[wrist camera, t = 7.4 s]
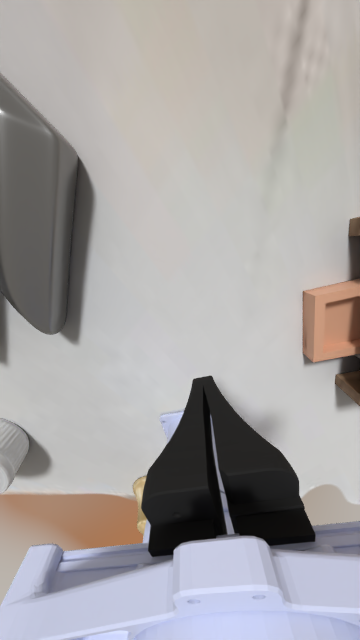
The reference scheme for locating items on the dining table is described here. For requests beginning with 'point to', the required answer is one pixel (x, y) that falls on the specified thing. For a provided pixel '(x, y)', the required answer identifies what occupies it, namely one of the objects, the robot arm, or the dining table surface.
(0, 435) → the ramekin
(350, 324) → the shallow pink tray
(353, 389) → the wooden block
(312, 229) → the dining table surface
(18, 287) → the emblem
